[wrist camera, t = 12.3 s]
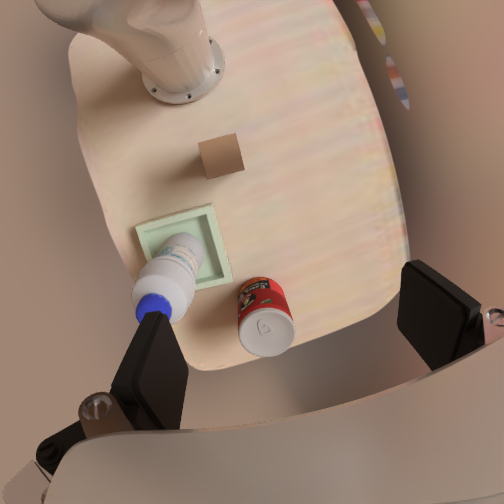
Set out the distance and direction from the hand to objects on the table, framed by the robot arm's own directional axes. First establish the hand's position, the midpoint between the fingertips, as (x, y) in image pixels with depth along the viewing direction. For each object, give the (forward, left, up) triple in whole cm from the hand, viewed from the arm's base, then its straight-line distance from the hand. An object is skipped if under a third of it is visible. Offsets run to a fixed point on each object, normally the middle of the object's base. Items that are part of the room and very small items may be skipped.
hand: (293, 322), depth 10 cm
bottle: (+5, -12, -32) cm, 34 cm away
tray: (+5, -12, -32) cm, 35 cm away
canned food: (+16, -2, -33) cm, 36 cm away
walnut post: (-7, -2, -32) cm, 33 cm away
